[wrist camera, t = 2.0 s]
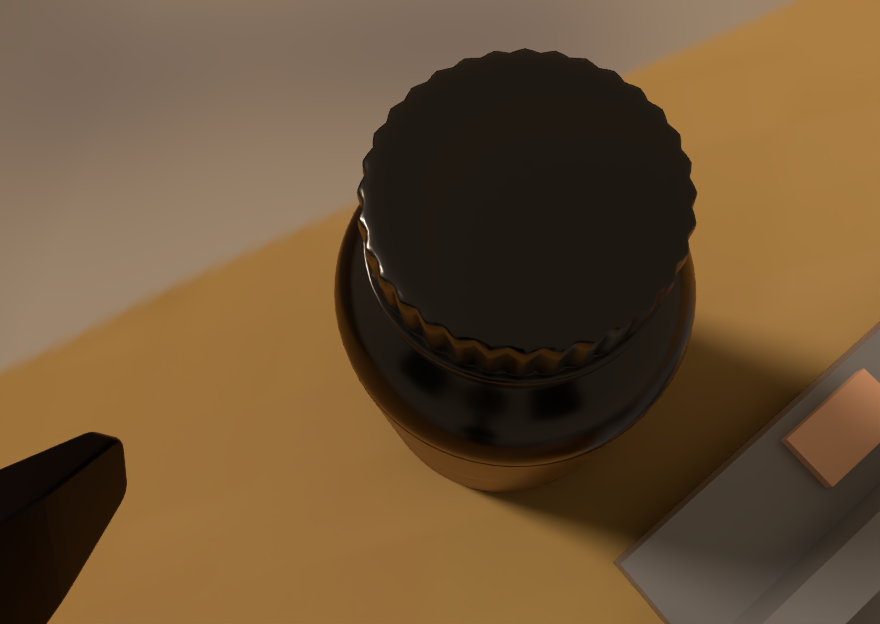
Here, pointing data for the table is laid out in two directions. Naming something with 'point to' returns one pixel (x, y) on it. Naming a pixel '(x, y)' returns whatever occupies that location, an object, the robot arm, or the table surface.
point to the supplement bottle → (518, 266)
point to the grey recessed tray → (781, 516)
